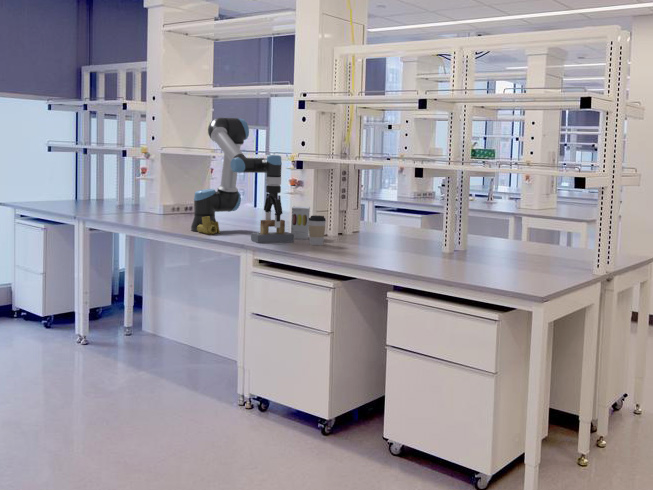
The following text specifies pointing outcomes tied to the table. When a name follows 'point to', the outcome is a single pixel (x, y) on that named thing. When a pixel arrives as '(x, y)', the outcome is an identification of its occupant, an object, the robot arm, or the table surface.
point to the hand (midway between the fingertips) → (272, 226)
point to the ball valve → (208, 226)
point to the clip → (271, 223)
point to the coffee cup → (316, 230)
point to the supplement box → (300, 222)
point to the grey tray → (272, 237)
